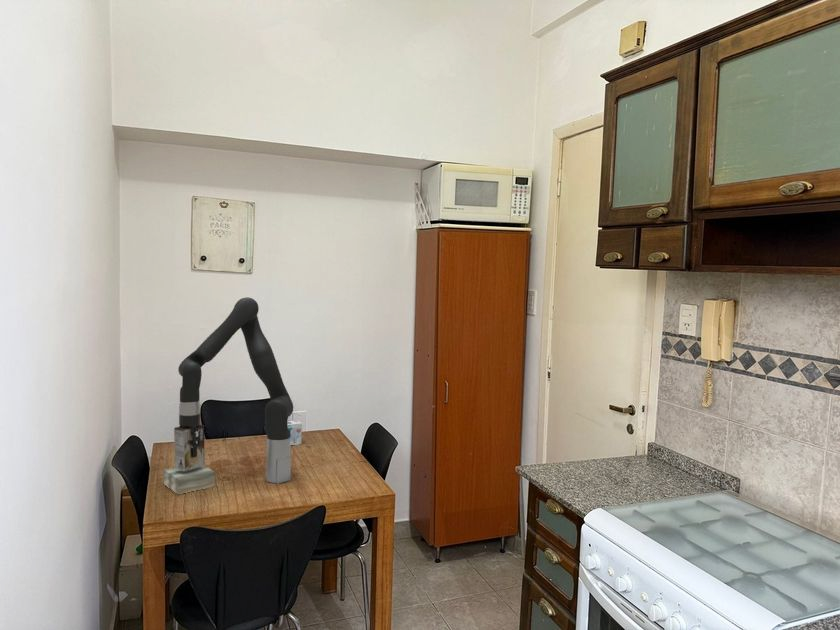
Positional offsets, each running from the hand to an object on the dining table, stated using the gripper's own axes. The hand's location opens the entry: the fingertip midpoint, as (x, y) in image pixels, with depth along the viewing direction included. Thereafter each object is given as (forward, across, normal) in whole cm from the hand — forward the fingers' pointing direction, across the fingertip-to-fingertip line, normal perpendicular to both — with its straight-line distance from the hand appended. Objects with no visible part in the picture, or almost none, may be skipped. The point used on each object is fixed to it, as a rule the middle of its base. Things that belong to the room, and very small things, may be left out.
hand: (189, 454), depth 226 cm
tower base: (+12, 0, 0) cm, 12 cm away
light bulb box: (+13, +25, -60) cm, 66 cm away
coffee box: (+5, 0, 0) cm, 5 cm away
